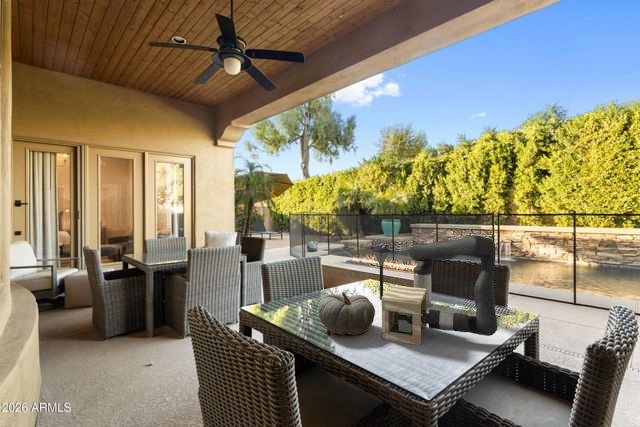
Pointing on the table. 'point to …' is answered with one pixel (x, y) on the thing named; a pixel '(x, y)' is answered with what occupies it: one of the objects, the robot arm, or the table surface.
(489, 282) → the robot arm
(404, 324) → the block
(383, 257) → the solar garden light
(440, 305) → the table surface
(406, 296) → the box
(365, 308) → the gourd
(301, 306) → the table surface
